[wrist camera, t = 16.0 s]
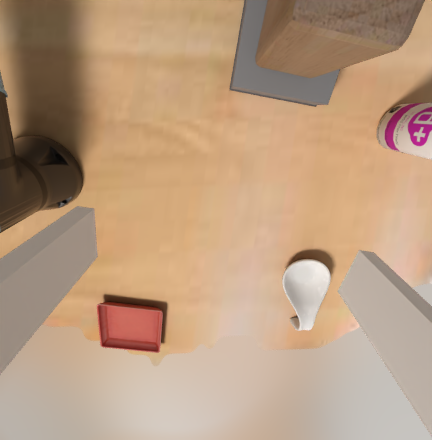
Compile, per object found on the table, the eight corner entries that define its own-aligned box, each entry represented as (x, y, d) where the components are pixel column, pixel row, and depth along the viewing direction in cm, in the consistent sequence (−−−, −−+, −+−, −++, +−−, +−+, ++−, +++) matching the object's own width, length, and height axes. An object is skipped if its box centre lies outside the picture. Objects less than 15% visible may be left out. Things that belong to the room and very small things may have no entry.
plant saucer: (165, 303, 66) (162, 312, 63) (162, 343, 74) (159, 353, 71) (101, 295, 65) (96, 304, 62) (105, 337, 73) (100, 347, 70)
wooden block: (271, -20, 31) (341, -195, 13) (340, -2, 32) (497, -147, 14) (252, 66, 35) (286, 23, 17) (314, 80, 36) (407, 52, 18)
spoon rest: (279, 254, 58) (286, 272, 52) (326, 250, 57) (340, 268, 51) (278, 320, 68) (284, 342, 62) (318, 317, 68) (329, 339, 61)
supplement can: (365, 138, 46) (426, 150, 32) (395, 95, 42) (478, 89, 29) (397, 155, 47) (468, 174, 33) (428, 115, 44) (522, 118, 30)
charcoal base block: (229, 89, 42) (230, 87, 37) (250, -32, 35) (255, -57, 30) (314, 106, 43) (328, 106, 38) (351, -9, 36) (375, -29, 31)
